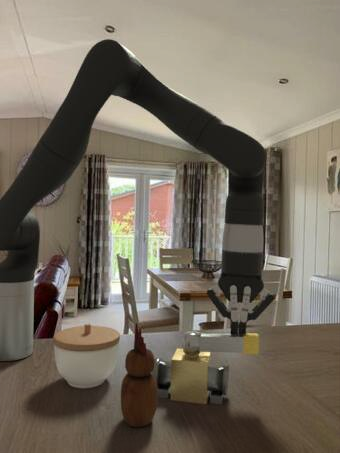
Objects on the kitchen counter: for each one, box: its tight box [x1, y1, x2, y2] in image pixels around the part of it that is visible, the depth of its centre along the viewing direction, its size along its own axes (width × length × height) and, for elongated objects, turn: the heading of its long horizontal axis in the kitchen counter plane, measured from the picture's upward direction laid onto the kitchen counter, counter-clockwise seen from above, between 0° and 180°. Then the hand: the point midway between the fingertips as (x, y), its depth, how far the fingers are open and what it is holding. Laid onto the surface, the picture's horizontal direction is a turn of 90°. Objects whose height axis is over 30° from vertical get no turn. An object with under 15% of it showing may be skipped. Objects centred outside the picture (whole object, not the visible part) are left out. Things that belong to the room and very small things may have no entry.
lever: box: [182, 330, 260, 355], centre depth 70 cm, size 14×3×3 cm, turn 91°
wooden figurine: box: [120, 322, 158, 428], centre depth 60 cm, size 7×6×15 cm
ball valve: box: [151, 348, 230, 405], centre depth 70 cm, size 14×6×8 cm, turn 79°
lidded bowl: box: [53, 323, 121, 389], centre depth 75 cm, size 13×13×11 cm
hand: (237, 340), depth 72 cm, fingers closed
